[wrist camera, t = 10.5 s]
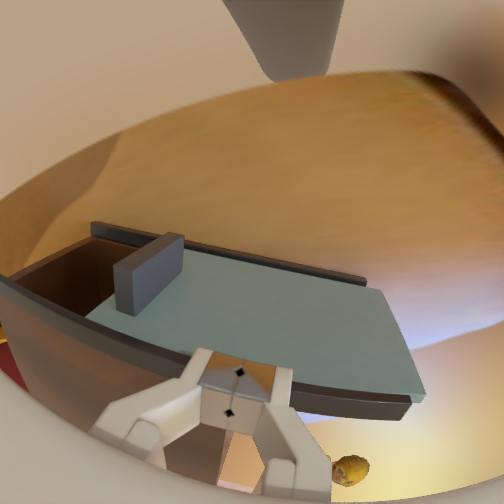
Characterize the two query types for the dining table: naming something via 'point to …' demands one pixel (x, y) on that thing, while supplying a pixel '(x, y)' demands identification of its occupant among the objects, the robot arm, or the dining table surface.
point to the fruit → (349, 470)
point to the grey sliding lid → (260, 317)
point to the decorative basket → (9, 361)
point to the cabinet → (134, 346)
